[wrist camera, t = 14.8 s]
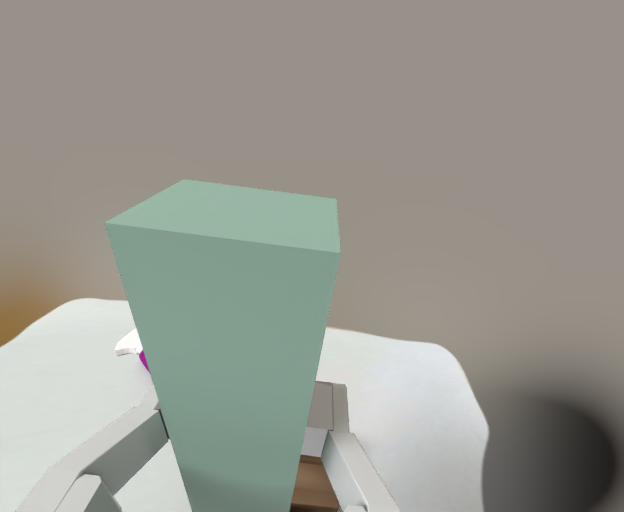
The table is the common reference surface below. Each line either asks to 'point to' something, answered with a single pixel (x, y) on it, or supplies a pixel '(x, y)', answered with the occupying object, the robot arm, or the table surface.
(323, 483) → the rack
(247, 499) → the tall board
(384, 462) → the table surface
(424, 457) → the table surface
